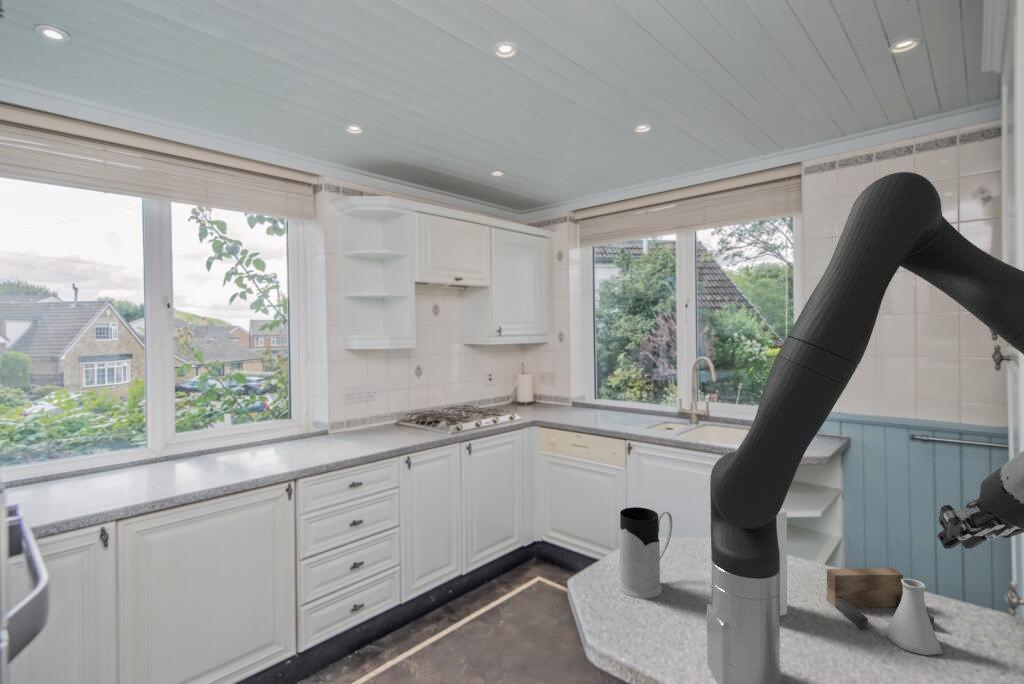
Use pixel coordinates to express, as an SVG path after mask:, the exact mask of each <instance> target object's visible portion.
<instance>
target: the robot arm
mask: <svg viewBox="0 0 1024 684" xmlns="http://www.w3.org/2000/svg"><path fill="white" fill-rule="evenodd" d="M942 210H943V209H942V200H941V197H940V195H939V192H938V190H937V189H936V187H935V185H934V184H933V183H932V182H931V181H930V180H929V179H928V178H926V177H924V176H923V175H921V174H918V173H916V172H911V171H900V172H894V173H890V174H887V175H884V176H882V177H880V178H878V179H876V180H875V181H874V182H872V183H871V184H869V185H868V186H866V187H865V189H864V190H862V191H861V193H860V194H859V196H858V197H857V198H856V199H855V201H854V203H853V205H852V207H851V209H850V212H849V214H848V216H847V220H846V222H845V224H844V227H843V230H842V232H841V235H840V237H839V239H838V241H837V245H836V247H835V249H834V252H833V255H832V257H831V258H830V260H829V264H828V265H827V268H826V269H825V272H824V273H823V275H822V276H821V278H820V280H819V281H818V283H817V285H816V286H815V287H814V289H813V291H812V293H811V294H810V296H809V298H808V299H807V301H806V303H805V305H804V306H803V309H802V310H801V312H800V314H799V316H798V317H797V319H796V321H795V322H794V324H793V326H792V327H791V329H790V331H789V332H788V334H787V337H786V338H785V339H784V341H783V344H782V346H781V347H780V349H779V351H778V352H777V355H776V357H775V359H774V360H773V363H772V365H771V368H770V370H769V372H768V374H767V375H768V376H767V378H766V381H765V384H764V387H763V390H762V394H761V397H760V401H759V404H758V407H757V411H756V414H755V417H754V419H753V422H752V424H751V426H750V429H749V430H748V432H747V434H746V435H745V437H744V439H743V441H742V442H741V444H740V445H739V446H738V448H737V450H736V451H734V452H729V453H727V454H725V455H723V456H721V457H720V458H719V459H717V461H716V462H715V464H714V465H713V467H712V470H711V472H710V480H709V481H710V483H709V484H710V485H709V486H710V488H709V490H710V493H709V496H710V546H711V548H710V550H711V551H710V552H711V603H708V604H706V646H707V648H706V652H707V653H706V654H707V655H706V657H707V659H706V661H707V662H706V664H707V666H708V668H709V669H710V671H711V673H712V674H713V677H714V679H715V681H716V682H717V683H718V684H781V674H782V673H781V616H780V552H779V545H778V536H777V518H776V516H777V514H778V513H779V511H780V509H781V507H783V505H784V503H785V500H786V497H787V495H788V492H789V490H790V488H791V485H792V483H793V480H794V477H795V475H796V473H797V471H798V469H799V467H800V466H799V465H800V463H801V461H802V459H803V457H804V455H805V454H806V451H807V449H808V448H809V446H810V444H811V443H812V441H813V440H814V439H815V437H816V436H817V434H818V432H819V431H820V430H821V428H822V426H823V425H824V423H825V422H826V420H827V418H829V417H828V416H829V415H831V412H832V410H833V409H834V407H835V405H836V403H837V402H838V400H839V398H840V397H841V396H842V394H843V392H844V391H845V390H846V388H847V385H848V384H849V382H850V381H851V379H852V377H853V375H854V373H855V372H856V370H857V368H858V366H859V365H860V363H861V361H862V359H863V357H864V355H865V353H866V350H867V348H868V345H869V342H870V340H871V336H872V334H873V331H874V329H875V326H876V325H875V324H876V323H877V318H878V316H879V312H880V308H881V306H882V302H883V299H884V296H885V294H886V292H887V290H888V287H889V285H890V283H891V281H892V280H893V278H894V276H895V274H896V273H897V271H898V270H899V268H900V267H901V268H903V269H905V270H907V271H909V272H910V273H913V274H914V275H916V276H918V277H919V278H921V279H922V280H924V281H926V282H928V283H929V284H930V285H932V286H934V287H935V288H937V289H938V290H940V291H941V292H943V293H944V294H946V295H947V296H948V297H950V298H951V299H953V300H954V301H955V302H956V303H958V304H959V305H960V306H961V307H963V308H964V309H965V310H966V311H968V312H969V313H970V314H971V315H973V316H974V317H975V318H977V320H979V322H981V323H983V324H984V325H985V326H986V327H987V328H989V329H990V330H991V331H993V332H994V333H995V334H996V335H998V337H1000V338H1002V339H1003V340H1004V341H1005V342H1006V343H1008V344H1010V345H1011V347H1013V348H1014V349H1015V350H1017V351H1019V352H1020V353H1021V354H1022V355H1024V270H1022V269H1019V268H1018V267H1015V266H1012V265H1010V264H1008V263H1006V262H1004V261H1002V260H1001V259H998V258H997V257H995V256H993V255H991V254H989V253H987V252H986V251H984V250H983V249H981V248H979V247H978V246H977V245H975V243H972V242H971V241H970V240H968V238H966V237H965V236H963V234H961V233H960V232H959V230H957V228H955V227H954V226H953V225H952V224H951V223H950V222H949V221H948V220H947V219H946V218H945V216H943V211H942ZM979 490H980V492H979V496H978V497H977V498H975V499H973V500H972V501H969V502H968V503H967V504H966V505H965V507H964V508H958V509H955V507H953V506H952V505H950V504H945V505H943V506H941V507H940V511H939V516H938V523H939V525H940V526H941V527H942V529H943V530H942V531H940V532H939V533H938V534H937V536H936V537H937V538H938V540H939V542H940V543H941V545H942V547H943V548H944V549H946V550H951V549H954V548H956V547H957V546H959V545H960V544H961V545H962V546H963V547H964V549H967V550H968V549H970V550H971V549H974V548H975V547H978V546H979V545H981V544H982V543H984V542H985V541H995V539H997V538H999V537H1000V536H1001V538H1002V539H1009V538H1012V537H1014V536H1017V535H1020V534H1023V533H1024V450H1023V451H1021V452H1019V453H1018V454H1017V455H1015V456H1013V457H1012V458H1011V459H1010V460H1008V461H1007V462H1006V463H1004V464H1002V466H1000V467H999V468H998V469H996V470H995V471H993V472H991V474H989V475H988V476H987V477H985V478H984V479H983V481H981V483H980V488H979ZM964 527H965V528H964Z"/></svg>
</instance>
